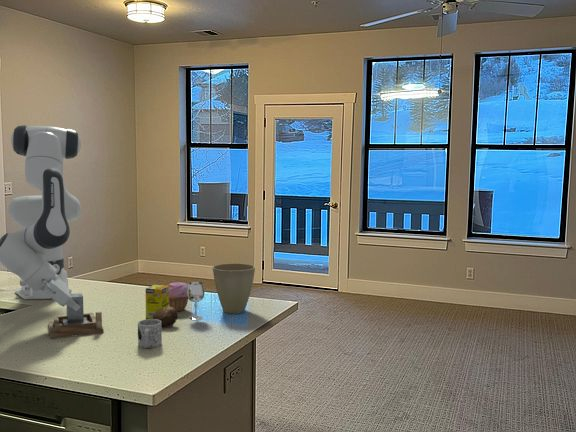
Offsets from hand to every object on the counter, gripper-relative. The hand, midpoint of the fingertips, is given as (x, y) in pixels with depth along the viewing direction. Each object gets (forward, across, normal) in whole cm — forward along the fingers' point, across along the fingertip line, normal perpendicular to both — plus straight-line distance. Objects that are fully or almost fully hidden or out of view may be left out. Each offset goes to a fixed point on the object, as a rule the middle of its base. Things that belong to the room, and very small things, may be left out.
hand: (77, 305), depth 177 cm
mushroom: (+24, -8, -13) cm, 28 cm away
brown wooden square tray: (+5, 0, +6) cm, 8 cm away
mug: (+18, -26, -6) cm, 32 cm away
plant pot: (+42, 0, -31) cm, 53 cm away
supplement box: (+23, +1, -12) cm, 27 cm away
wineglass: (+32, -3, -21) cm, 38 cm away
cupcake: (+30, +10, -19) cm, 37 cm away
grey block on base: (+4, 0, +5) cm, 6 cm away
